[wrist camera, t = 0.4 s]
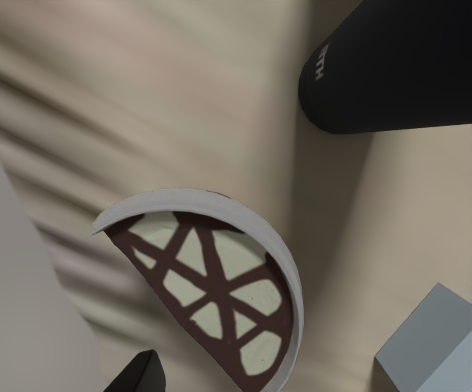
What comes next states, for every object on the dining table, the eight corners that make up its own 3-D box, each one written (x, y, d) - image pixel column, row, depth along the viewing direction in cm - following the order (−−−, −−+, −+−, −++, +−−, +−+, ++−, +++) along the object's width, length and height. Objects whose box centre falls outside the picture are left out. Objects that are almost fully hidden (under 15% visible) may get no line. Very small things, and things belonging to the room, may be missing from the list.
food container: (307, 266, 23) (366, 355, 14) (244, 310, 24) (257, 427, 14) (212, 137, 22) (199, 132, 12) (145, 188, 22) (79, 224, 12)
